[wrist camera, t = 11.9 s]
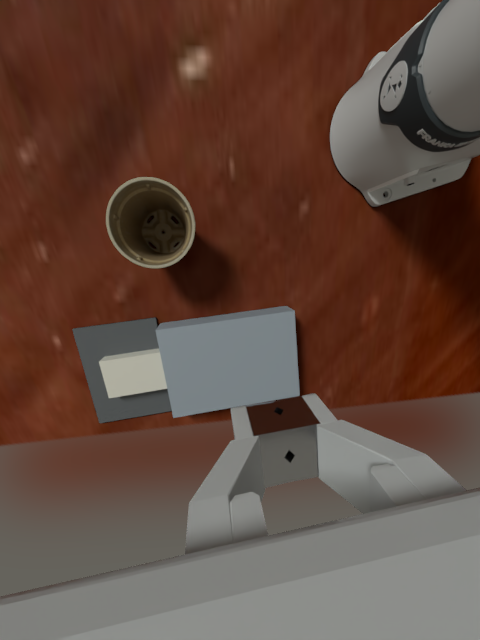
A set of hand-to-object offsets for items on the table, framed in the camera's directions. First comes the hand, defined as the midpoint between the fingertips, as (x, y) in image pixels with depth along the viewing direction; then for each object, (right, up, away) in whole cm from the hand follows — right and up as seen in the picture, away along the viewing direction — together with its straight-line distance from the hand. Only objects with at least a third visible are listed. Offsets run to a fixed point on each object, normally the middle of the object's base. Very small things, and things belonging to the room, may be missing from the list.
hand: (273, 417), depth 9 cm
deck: (-3, -2, +32) cm, 33 cm away
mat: (-19, -5, +31) cm, 37 cm away
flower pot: (-12, +16, +27) cm, 34 cm away
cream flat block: (-17, -4, +31) cm, 35 cm away
